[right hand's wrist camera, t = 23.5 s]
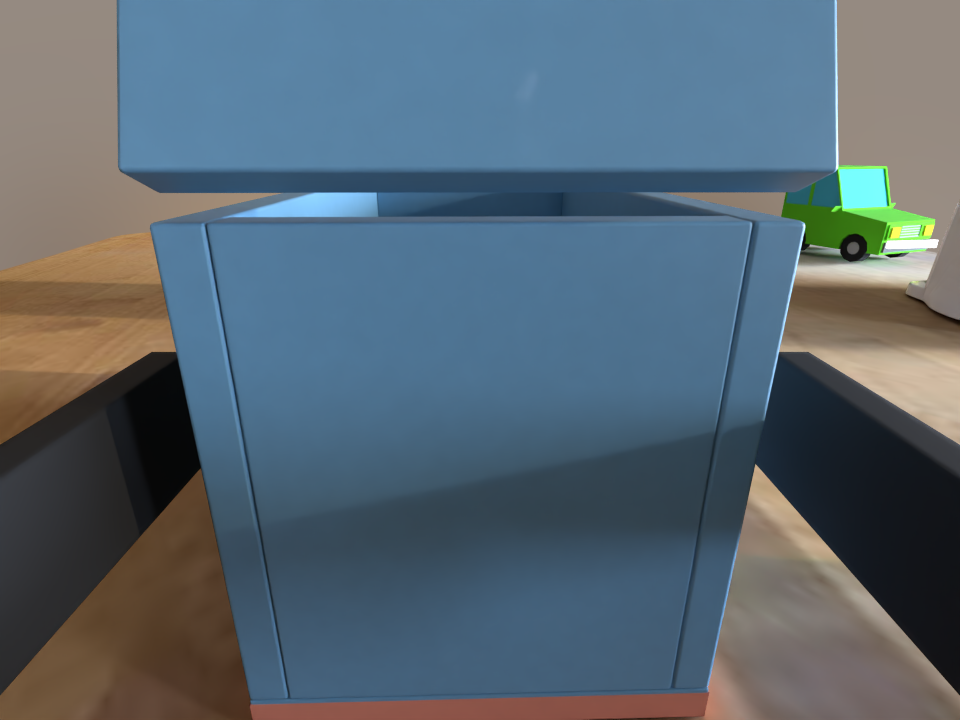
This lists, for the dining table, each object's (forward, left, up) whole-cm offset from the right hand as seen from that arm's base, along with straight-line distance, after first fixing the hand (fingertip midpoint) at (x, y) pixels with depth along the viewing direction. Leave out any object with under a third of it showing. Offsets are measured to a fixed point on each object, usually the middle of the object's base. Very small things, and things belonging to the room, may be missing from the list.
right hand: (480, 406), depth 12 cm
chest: (+1, -6, -6) cm, 9 cm away
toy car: (-35, -61, -6) cm, 71 cm away
